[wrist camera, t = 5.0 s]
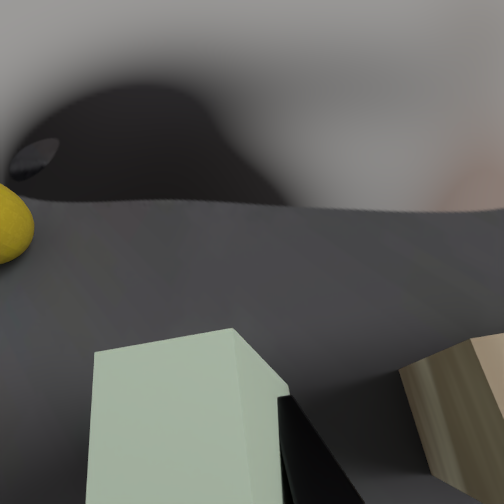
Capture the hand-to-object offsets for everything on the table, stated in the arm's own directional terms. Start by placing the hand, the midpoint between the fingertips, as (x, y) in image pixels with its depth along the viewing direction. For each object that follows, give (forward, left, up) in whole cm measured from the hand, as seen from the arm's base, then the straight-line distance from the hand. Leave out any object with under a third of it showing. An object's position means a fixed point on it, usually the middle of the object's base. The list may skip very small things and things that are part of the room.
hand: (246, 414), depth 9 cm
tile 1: (-1, -7, -10) cm, 13 cm away
